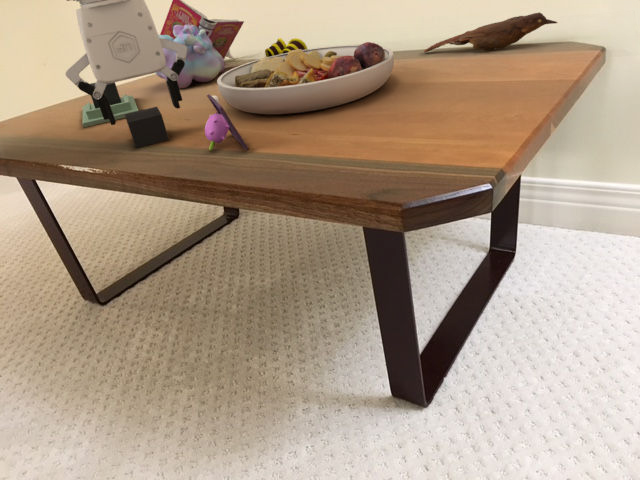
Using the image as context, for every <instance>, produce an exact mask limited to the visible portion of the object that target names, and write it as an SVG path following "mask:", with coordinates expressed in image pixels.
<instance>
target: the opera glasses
mask: <svg viewBox="0 0 640 480" xmlns="http://www.w3.org/2000/svg"><path fill="white" fill-rule="evenodd" d="M296 49H301V50H307V49H308V45H306V43H305V42H304V40H302V39H300V38H296V37H295V38H292V39H290V40H289V41H288V42H287V43H286V42H285V41H284V39H282V38H277V39H276V42H274V43H272V44H271V45H270V46H269V47H267V48H265V50H264V54H265V57H271V56H275V55H280V54H284V53H288V52H289V51H292V50H296Z"/></svg>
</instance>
